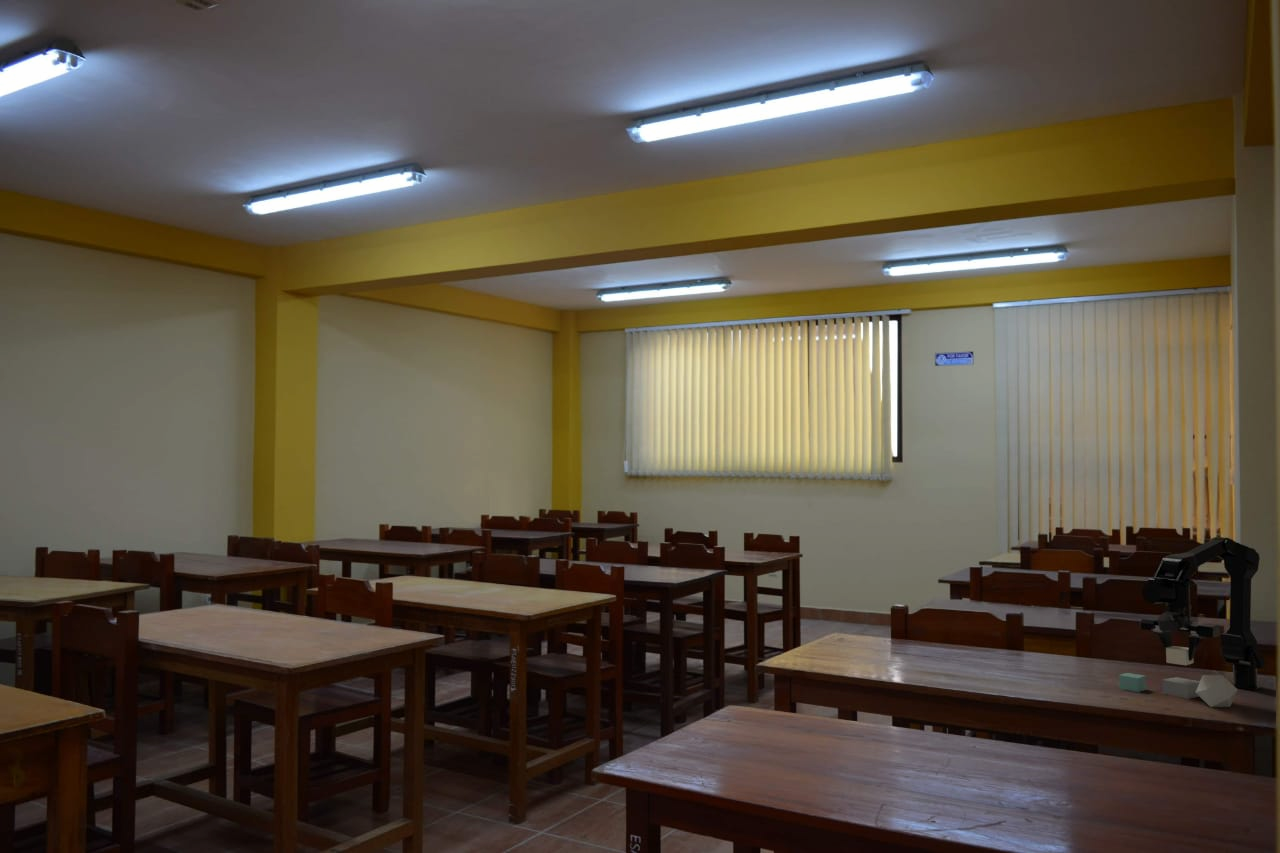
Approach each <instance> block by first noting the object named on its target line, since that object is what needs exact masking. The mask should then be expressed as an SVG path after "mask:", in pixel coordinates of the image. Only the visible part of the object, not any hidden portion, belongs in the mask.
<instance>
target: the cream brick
mask: <svg viewBox="0 0 1280 853" xmlns="http://www.w3.org/2000/svg"><path fill="white" fill-rule="evenodd" d="M1165 655H1166V659H1165V660H1166V663H1167V664H1173V665H1181V666H1189V665H1192V664H1194V658H1193V659H1192V660H1191V661H1189V647H1185V646H1177V645H1171V647H1168V648H1166V651H1165Z"/></svg>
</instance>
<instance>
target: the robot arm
mask: <svg viewBox="0 0 1280 853" xmlns="http://www.w3.org/2000/svg"><path fill="white" fill-rule="evenodd" d="M1217 557H1219V558H1220V559H1221V560H1223V565H1224V566H1223V567H1224V568H1225V571H1226V572H1227V574H1228V575H1229V577H1230V578H1229V579H1230V583H1229V584H1230V585H1229V586H1230V590H1229V592H1230V593H1229V627H1228V629H1227V630H1226V632H1225V633H1221V629H1220V627H1219V626H1218V625H1216V624H1210V623H1209V624H1208V623H1202V624H1199V625H1193V620H1192V619H1191V618H1192V617H1191V614H1192V612H1191V610H1193V605H1191V588H1190V586H1195V585H1196V582H1194V581H1193V579H1191V577H1192V576H1194V575H1195V574H1196V573H1197V572H1198V571H1199V570H1198V569H1199V568H1200V566H1202V565H1204V564H1207V563H1208V562H1210V561H1212V560H1213V559H1216V558H1217ZM1259 564H1260V554H1259V552H1257V550H1256V549H1255V548H1253V547H1249V546H1246V545H1244V544H1242V543H1240V542H1236V540H1234V539H1232V538H1230V537H1223V536H1214V537H1212V538H1211V539H1210V540H1208V541H1207V542H1204V543H1202V544H1200V545H1199V546H1197V547H1194V548H1192V549H1190V550H1188V551H1186V552H1182V553H1181V552H1180V553H1173V554H1169V555H1166V556H1165V555H1164V557H1163V558H1162V559H1161V562H1160V564H1159V566H1158V568H1157V569H1156V572H1155V573H1154V576H1153V578H1150V577H1149V578H1147V582H1146V583H1145V584H1144V585H1143V587H1142V589H1141V596H1142V597H1143V600H1144V601H1145V602H1146V603H1147V604H1151V605H1155V604H1166V605H1164V611H1163V613H1161V614H1160V615H1159V617H1158V618H1156V617H1146V618H1142V619H1141V620H1140V621H1139V630H1146V631H1151V633H1152V634H1154V635H1156V636H1157V638H1158V639H1159V640H1160V642H1161V644H1162V646H1163V648H1164V651H1165V652H1166V648H1168V647H1171V646H1172V633H1178V632H1179V631H1180V632H1187V633H1190V635H1188V636H1187V639H1188V648H1189V661H1191V660H1192V659H1193V660H1194V656H1195V655H1196V652H1197V650H1198V647H1199V646H1200V644H1201V642H1202V640H1203V639H1207V638H1208V639H1209V638H1210V639H1214V638H1217V637H1220V645H1219V648H1221V653H1222V656H1223V658H1224V662H1225V664H1232V671H1233V672H1232V673H1233V674H1232V675H1233V676H1232V677H1233V679H1232V680H1233V682H1231V684H1232V685H1233V686H1234V687H1235V688H1237V689H1239V688H1240V689H1244V690H1251V691H1257V690H1259V689H1261V688H1263V685H1261V684H1258V669H1259V670H1260V669H1264V668H1265V667H1266V663H1267V659H1266V658H1265V657H1264V656H1263V654H1262V653H1261V652H1260V651H1259V649H1258V642H1257V639H1256V637H1255V636H1254V634H1253V632H1252V630H1251V612H1252V611H1251V610H1252V609H1251V608H1252V606H1251V604H1252V579H1253V578H1254V576H1255V575H1256V573H1257V572H1258V570H1259Z"/></svg>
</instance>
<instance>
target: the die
mask: <svg viewBox="0 0 1280 853" xmlns="http://www.w3.org/2000/svg"><path fill="white" fill-rule="evenodd" d="M1199 681H1200V683H1199V685H1198V687H1197V690H1196V693H1197V694H1198V695H1199V697H1200V698H1201V699H1202V701H1203V702H1205V703H1206V705H1208V706H1209V707H1210V708H1230V707H1231V705H1233V704H1232V703H1233V701H1234V699H1235V697H1236V694H1237V692H1238V689H1239V688H1237V687H1234V686H1233V685H1232V682H1230V681H1229V680H1228V679H1227V678H1226V677H1224V676H1223V675H1222V674H1203V675H1202V676H1201V678H1200V680H1199Z"/></svg>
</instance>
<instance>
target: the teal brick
mask: <svg viewBox="0 0 1280 853" xmlns="http://www.w3.org/2000/svg"><path fill="white" fill-rule="evenodd" d="M1118 679H1119V680H1118V682H1119V684H1118V686H1119V690H1121V691H1122V690H1124V691H1128V692H1134V693H1139V692H1143V691H1146V688H1147V687H1146V684H1147V683H1146V682H1147V681H1146V675H1143V674H1138V673H1137V674H1136V673H1132V672H1131V673H1130V672H1125V673H1122V674H1119V675H1118Z"/></svg>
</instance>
